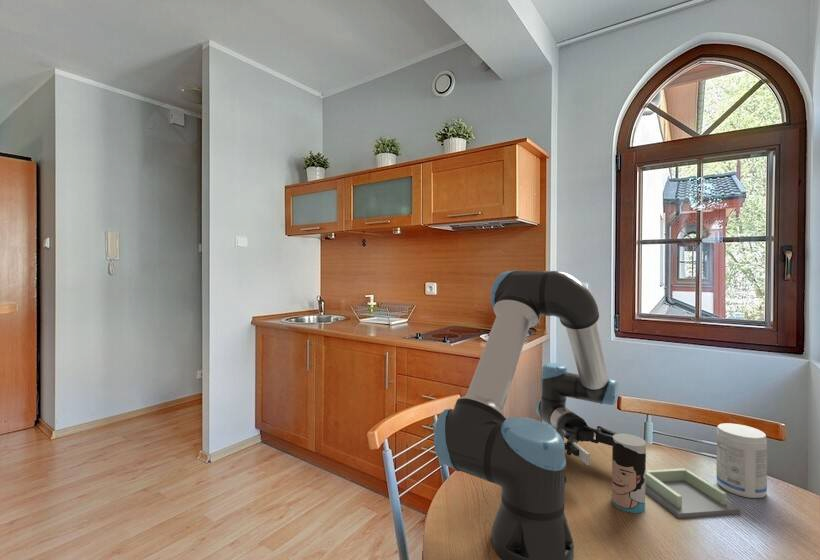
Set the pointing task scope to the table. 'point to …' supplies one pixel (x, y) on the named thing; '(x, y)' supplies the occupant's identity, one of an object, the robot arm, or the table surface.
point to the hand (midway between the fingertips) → (614, 458)
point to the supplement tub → (742, 460)
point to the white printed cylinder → (628, 472)
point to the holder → (687, 494)
